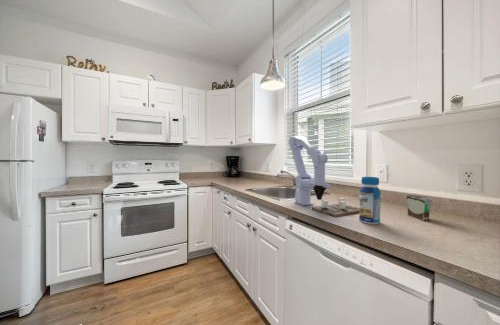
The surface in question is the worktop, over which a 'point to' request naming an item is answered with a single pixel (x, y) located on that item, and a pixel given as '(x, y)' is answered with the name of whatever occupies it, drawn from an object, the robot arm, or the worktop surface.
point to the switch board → (337, 210)
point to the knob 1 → (324, 203)
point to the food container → (418, 207)
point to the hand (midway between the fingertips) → (319, 199)
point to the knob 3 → (342, 204)
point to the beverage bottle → (370, 201)
